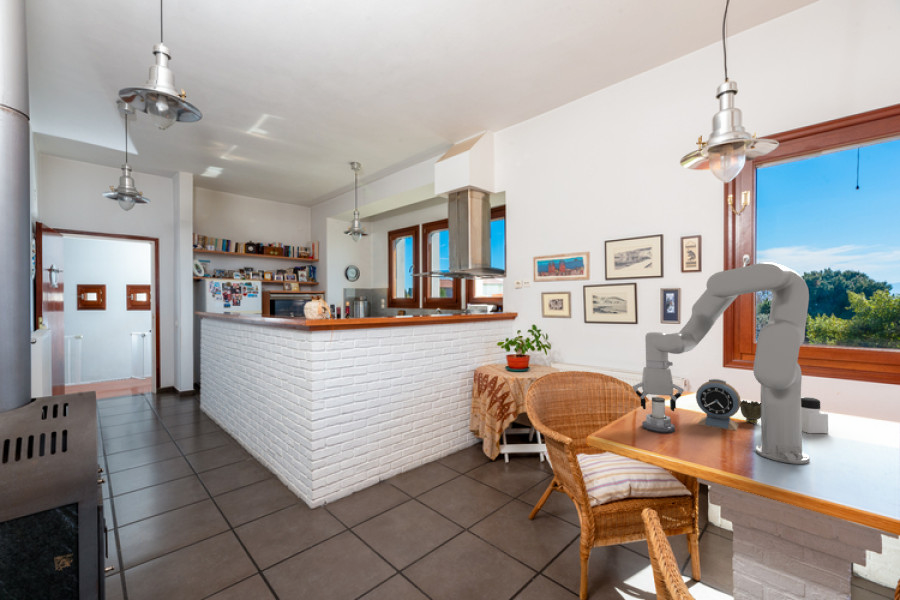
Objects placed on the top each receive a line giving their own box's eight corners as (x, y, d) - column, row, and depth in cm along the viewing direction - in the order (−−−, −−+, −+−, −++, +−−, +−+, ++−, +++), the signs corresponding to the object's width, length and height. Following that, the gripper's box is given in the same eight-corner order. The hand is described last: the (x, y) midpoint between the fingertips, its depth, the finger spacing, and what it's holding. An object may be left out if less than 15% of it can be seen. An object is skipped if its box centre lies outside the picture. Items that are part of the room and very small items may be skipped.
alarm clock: (694, 423, 150) (693, 379, 150) (699, 418, 157) (698, 375, 157) (739, 431, 140) (738, 383, 140) (742, 425, 147) (741, 379, 147)
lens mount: (678, 434, 138) (677, 422, 138) (644, 431, 141) (644, 419, 141) (671, 425, 148) (671, 413, 148) (640, 422, 152) (640, 411, 152)
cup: (762, 421, 151) (761, 401, 151) (765, 426, 145) (765, 405, 145) (738, 418, 155) (738, 399, 155) (741, 423, 149) (740, 403, 149)
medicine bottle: (828, 433, 136) (828, 400, 136) (808, 433, 136) (807, 400, 136) (810, 427, 143) (809, 395, 143) (791, 427, 143) (790, 395, 144)
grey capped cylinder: (666, 426, 142) (665, 400, 142) (653, 425, 143) (652, 399, 143) (663, 423, 146) (663, 397, 146) (651, 422, 147) (650, 396, 147)
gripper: (680, 364, 146) (681, 408, 145) (630, 362, 151) (631, 405, 151) (685, 367, 139) (686, 413, 138) (633, 365, 144) (634, 410, 144)
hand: (658, 409), depth 145 cm, fingers open, 9 cm apart
